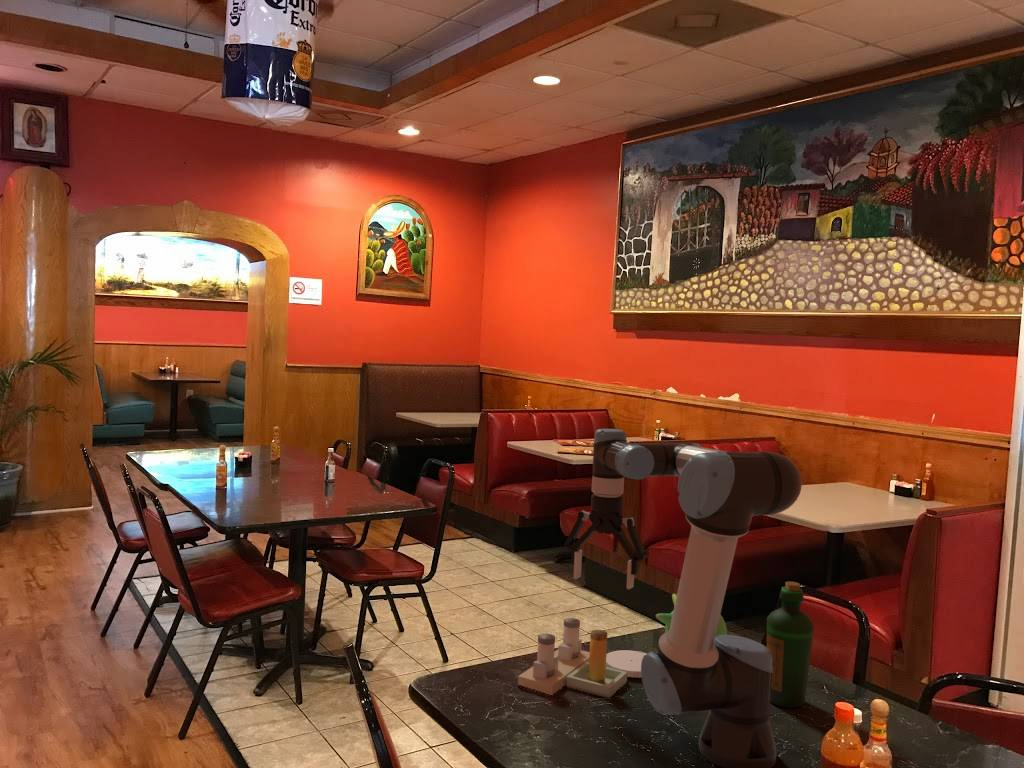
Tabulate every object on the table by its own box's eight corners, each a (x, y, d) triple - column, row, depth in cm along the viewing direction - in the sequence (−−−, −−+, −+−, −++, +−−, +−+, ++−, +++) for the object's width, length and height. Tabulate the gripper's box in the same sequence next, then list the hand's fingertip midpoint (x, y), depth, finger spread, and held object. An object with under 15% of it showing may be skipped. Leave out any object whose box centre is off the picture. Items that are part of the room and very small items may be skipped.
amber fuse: (601, 686, 200) (603, 636, 199) (585, 682, 201) (587, 633, 201) (607, 680, 203) (610, 632, 202) (592, 677, 205) (594, 628, 204)
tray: (608, 698, 195) (609, 687, 194) (566, 686, 200) (566, 676, 200) (626, 682, 204) (627, 672, 204) (585, 671, 210) (585, 661, 209)
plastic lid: (593, 663, 216) (593, 653, 216) (640, 657, 222) (640, 647, 222) (621, 684, 204) (621, 674, 203) (670, 677, 209) (670, 667, 209)
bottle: (767, 688, 204) (774, 574, 203) (813, 699, 199) (821, 582, 197) (756, 703, 195) (763, 584, 194) (803, 715, 190) (811, 593, 188)
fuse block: (551, 695, 195) (554, 647, 194) (517, 686, 199) (519, 638, 198) (594, 663, 215) (596, 618, 215) (562, 655, 220) (564, 611, 219)
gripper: (663, 498, 197) (658, 588, 198) (566, 485, 209) (562, 570, 210) (652, 503, 190) (647, 596, 191) (553, 489, 202) (549, 577, 203)
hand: (603, 582), depth 201 cm, fingers open, 13 cm apart
